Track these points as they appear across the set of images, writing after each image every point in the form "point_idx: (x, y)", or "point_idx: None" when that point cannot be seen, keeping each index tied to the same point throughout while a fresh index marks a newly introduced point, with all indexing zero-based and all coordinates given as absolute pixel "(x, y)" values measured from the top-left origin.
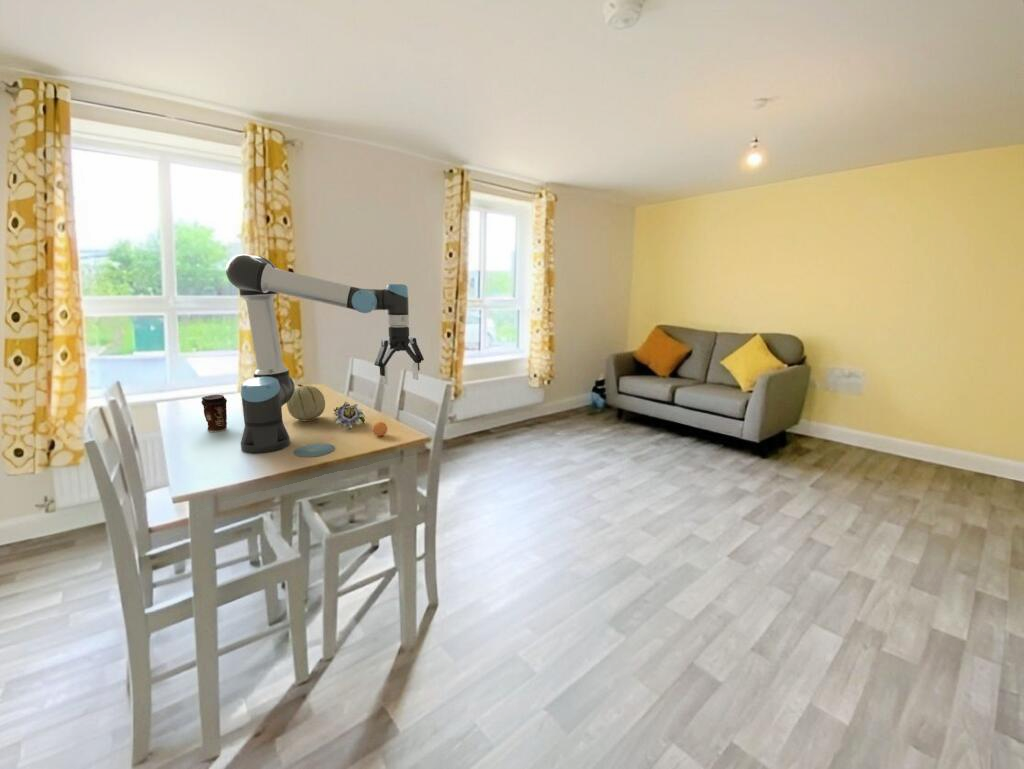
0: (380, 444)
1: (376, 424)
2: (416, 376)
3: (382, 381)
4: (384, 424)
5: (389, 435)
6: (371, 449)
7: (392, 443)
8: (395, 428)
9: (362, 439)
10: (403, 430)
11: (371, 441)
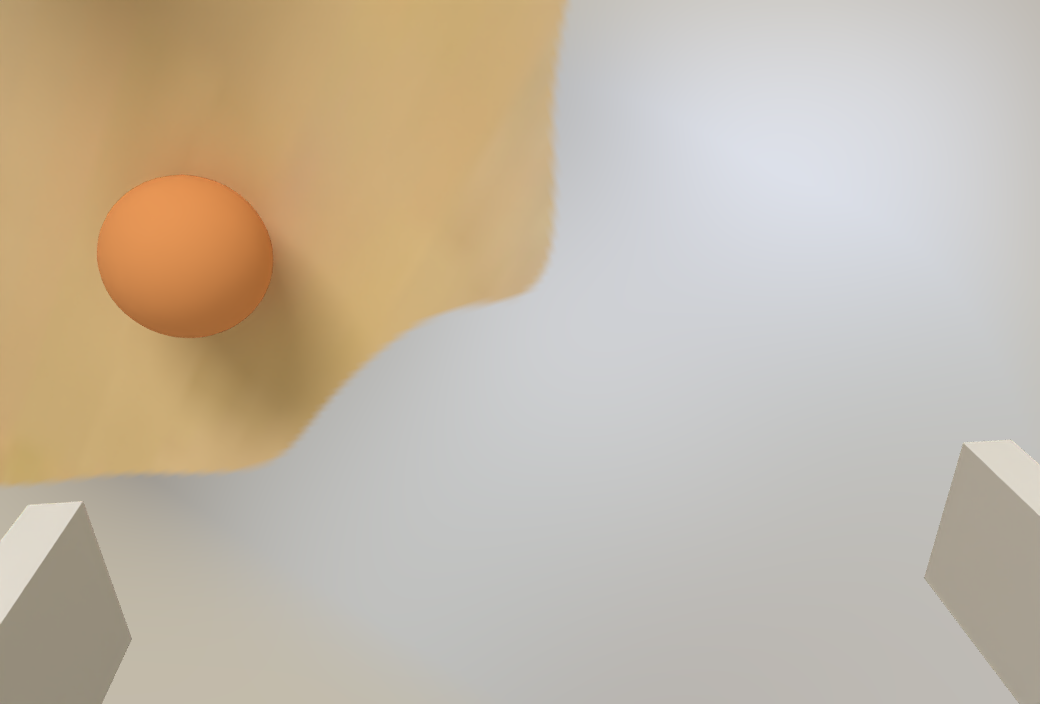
0: (135, 425)
1: (120, 297)
2: (971, 634)
3: (3, 559)
4: (214, 323)
5: (298, 269)
6: (31, 479)
7: (234, 457)
8: (454, 104)
9: (16, 214)
10: (484, 219)
11: (84, 317)
